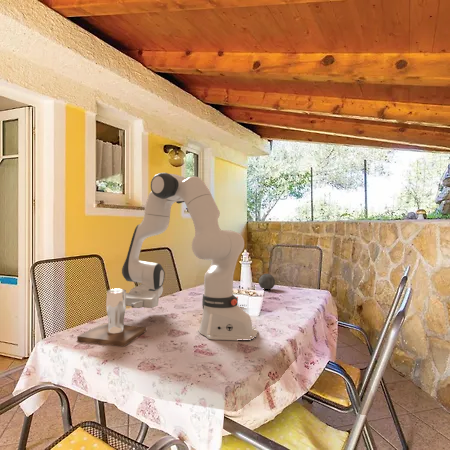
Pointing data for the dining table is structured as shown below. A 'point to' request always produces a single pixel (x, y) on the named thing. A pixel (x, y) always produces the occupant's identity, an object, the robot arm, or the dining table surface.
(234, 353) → the dining table surface
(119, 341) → the walnut board
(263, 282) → the decorative ball
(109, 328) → the beer glass
